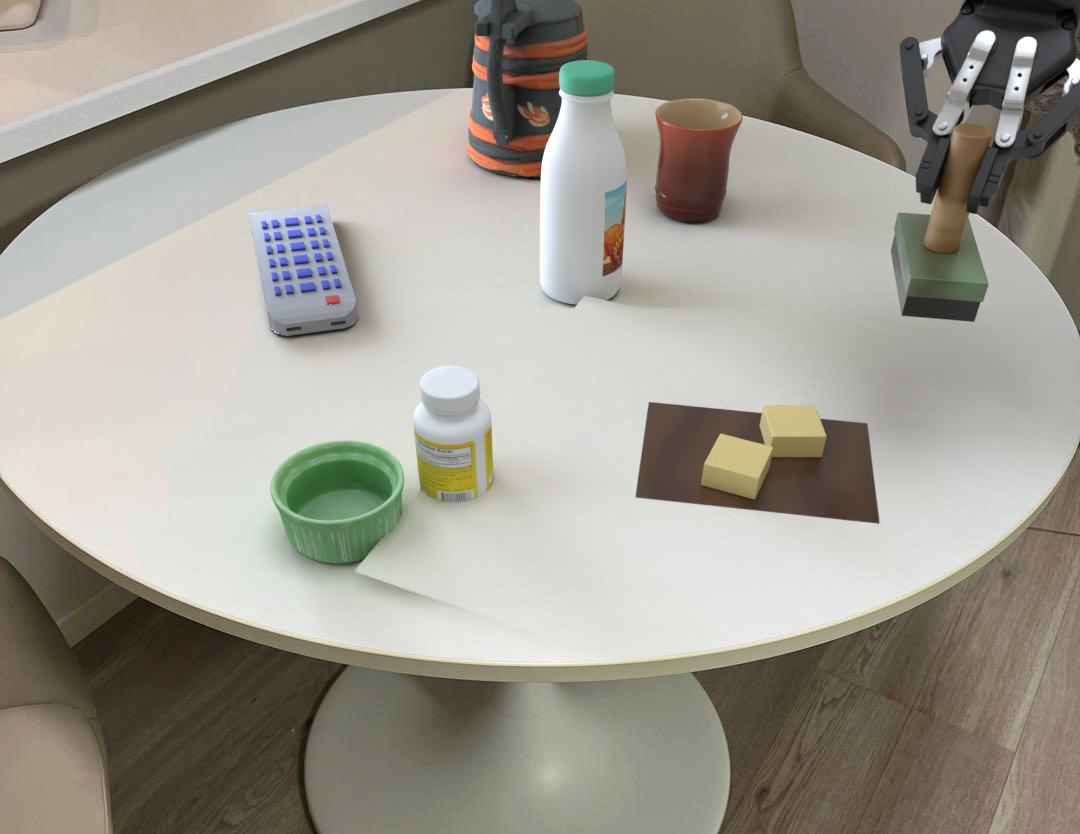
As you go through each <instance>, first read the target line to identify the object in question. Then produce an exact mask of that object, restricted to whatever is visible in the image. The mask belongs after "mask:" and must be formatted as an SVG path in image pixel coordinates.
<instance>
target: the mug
mask: <svg viewBox="0 0 1080 834" xmlns="http://www.w3.org/2000/svg"><path fill="white" fill-rule="evenodd" d="M654 115H655V120H656V126H657V130H658V136H659V153H658V161H657V169H656V179H655V185H654V191H655V195H654V196H655V197H654V198H655V201H656V207H657V209H658V210H659V212H660V213H662V214H663V215H664V216H665V217H667V218H669V219H671V220H674V221H677V222H683V223H701V222H705V221H709V220H711V219H713V218H715V217H716V216H717V215H718V214H719V213H720V212H721V211H722V208H723V203H724V201H725V197H726V195H727V192H728V191H727V187H728V179H729V169H730V159H731V152H732V147H733V144H734V141H735V139H736V135H737V133H738V131H739V129H740V126H741V125H742V123H743V118H744V116H743V114H742V111H740V110H739V109H738V108H737V107H736V106H735V105H734V104H732V103H729V102H724V101H723V102H722V101H719V100H714V99H710V98H695V97H694V98H693V97H692V98H679V99H674V100H669V101H666V102H664V103H662V104H660V105H659V106H658V107H657V108H656V109H655V114H654Z"/></svg>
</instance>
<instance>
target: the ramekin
mask: <svg viewBox="0 0 1080 834" xmlns="http://www.w3.org/2000/svg"><path fill="white" fill-rule="evenodd" d="M404 485H405V473H404V469H403V466H402V464H401V463H400V461H399V460H398V459H397V458H396V456H395V455H394V454H393V453H391V452H390V451H388V450H387V449H385V448H383V447H381V446H379V445H376V444H373V443H370V442H367V441H360V440H351V439H349V440H348V439H347V440H346V439H343V440H331V441H325V442H320V443H316V444H313V445H310V446H306V447H304V448H303V449H300V450H298V451H296V452H294V453H293V454H291V455H290V456H288V457H287V458H285V459H284V460H283V461H282V462H281V463H280V464H279V465H278V467H277V468H276V469H275V470H274V473H273V474H272V477H271V480H270V484H269V486H270V487H269V490H270V496H271V499H272V501H273V504H274V506H275V507H276V509H277V510H278V513H279V516H280V519H281V522H282V526H283V530H284V532H285V534H286V537H287V539H288V541H289V543H290V544H291V546H292V547H293V548H294V549H295V550H296V551H297V552H298V553H300V554H302V555H303V556H305V557H307V558H309V559H311V560H313V561H317V562H321V563H327V564H349V563H354V562H359V561H362V560H365V559H366V558H367V556H368V555H370V553H371V552H372V551H373V550H374V548H375V547H376V546H377V545H378V543H380V541H381V540H382V539H383V538H384V537H386V536H387V535H389V533H391V532H392V531H393V529H394V528H395V527H396V526H397V524H398V522H399V521H400V518H401V517H402V514H403V506H402V505H403V503H402V501H403V491H404Z"/></svg>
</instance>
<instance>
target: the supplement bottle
mask: <svg viewBox="0 0 1080 834" xmlns="http://www.w3.org/2000/svg"><path fill="white" fill-rule="evenodd" d="M419 387H420V399H421V401H420V403H419V404H418V405H417V406H416V407H415V409H414V412H413V418H412V420H413V423H412V424H413V434H414V444H415V452H416V453H415V454H416V463H417V472H418V473H417V474H418V481H419V483H418V484H419V490H420V492H424V493H425V494H426V495H427V496H429V497H431V498H432V499H435V500H438V501H441V502H447V503H463V502H468V501H472V500H475V499H477V498H479V497H481V496H483V495H484V494H485V493H487V492H489V490H490V489H491V488H492V486H493V484H494V480H495V479H494V478H495V476H494V475H495V474H494V453H493V427H492V425H493V423H492V413H491V410H490V407H489V406H488V404H487V403H486V401H485V400H483V399H482V398H481V387H480V379H479V376H478V375H477V373H476V372H474V371H473V370H472V369H470V368H468V367H464V366H461V365H442V366H437V367H435V368H432V369H430V370H428V371H427V372H426V373H425V374H423V376H422V377H421V379H420V382H419Z"/></svg>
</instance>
